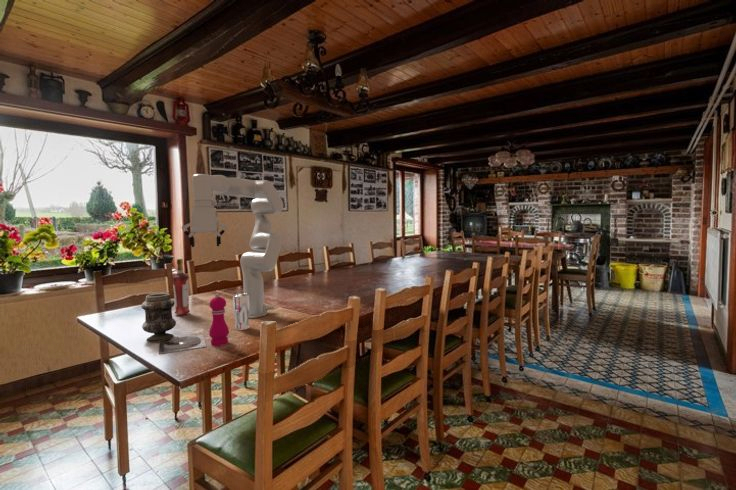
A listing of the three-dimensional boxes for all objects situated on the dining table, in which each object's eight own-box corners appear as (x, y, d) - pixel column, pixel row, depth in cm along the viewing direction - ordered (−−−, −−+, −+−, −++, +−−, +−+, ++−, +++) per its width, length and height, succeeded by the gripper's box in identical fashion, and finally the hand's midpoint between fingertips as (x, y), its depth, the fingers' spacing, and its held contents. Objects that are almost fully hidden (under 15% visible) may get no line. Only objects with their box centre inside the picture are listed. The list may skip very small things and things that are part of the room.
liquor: (177, 312, 198) (174, 258, 195) (192, 312, 199) (189, 258, 196) (171, 316, 191) (168, 260, 188) (187, 316, 191) (184, 259, 189)
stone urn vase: (178, 332, 165) (175, 291, 164) (174, 340, 154) (172, 295, 153) (146, 336, 161) (143, 293, 160) (140, 344, 150) (137, 298, 149)
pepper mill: (213, 340, 155) (210, 291, 153) (231, 339, 156) (229, 291, 154) (207, 346, 148) (204, 295, 146) (226, 346, 149) (224, 295, 147)
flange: (203, 335, 162) (203, 332, 162) (206, 347, 148) (206, 344, 148) (159, 341, 155) (159, 338, 155) (158, 354, 141) (158, 351, 141)
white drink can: (253, 326, 173) (252, 293, 172) (243, 331, 167) (242, 297, 165) (240, 325, 176) (239, 292, 174) (230, 329, 169) (229, 296, 168)
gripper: (226, 204, 164) (228, 244, 166) (182, 205, 160) (184, 246, 161) (225, 204, 157) (227, 246, 159) (178, 204, 153) (181, 248, 154)
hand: (205, 246), depth 160 cm, fingers open, 9 cm apart
